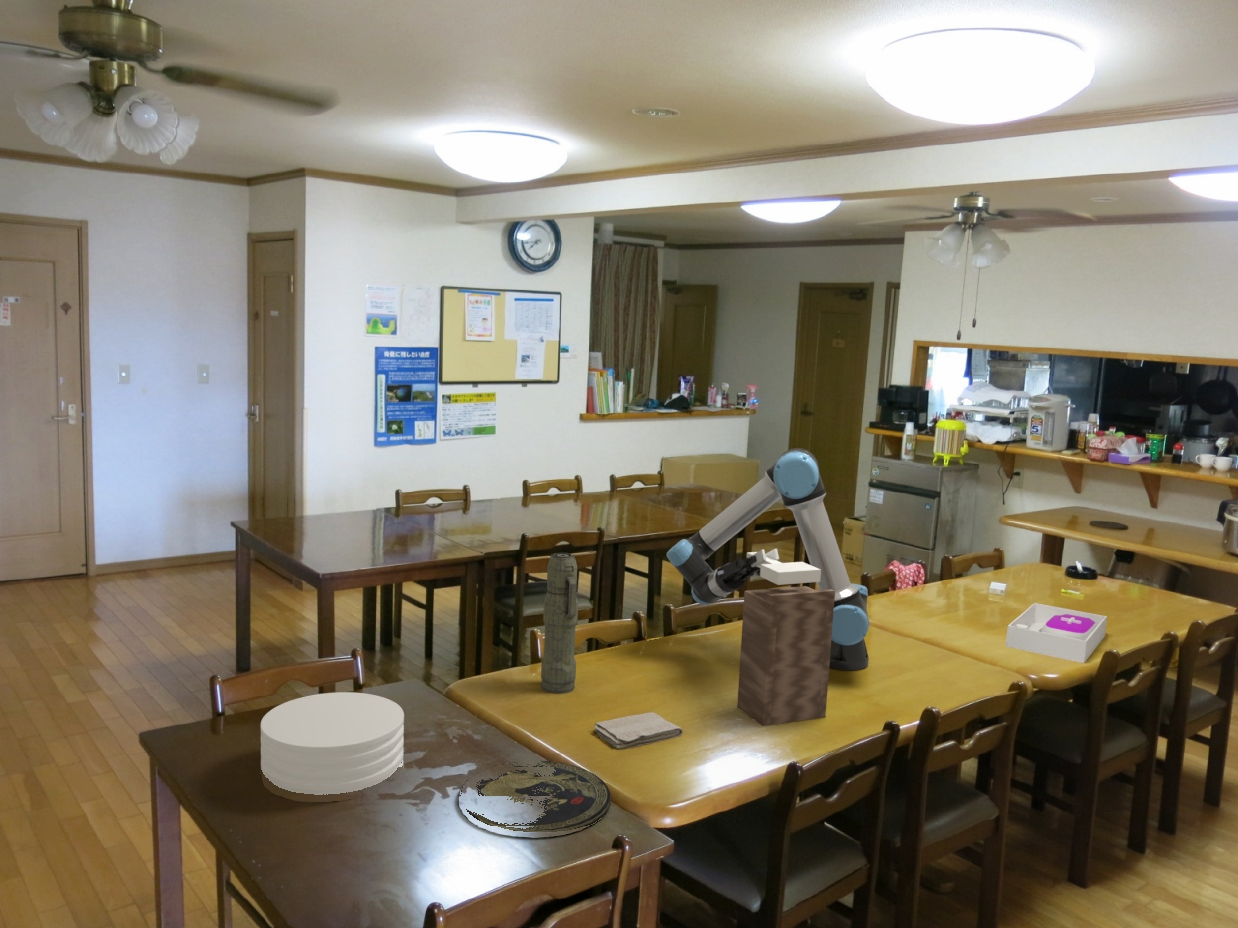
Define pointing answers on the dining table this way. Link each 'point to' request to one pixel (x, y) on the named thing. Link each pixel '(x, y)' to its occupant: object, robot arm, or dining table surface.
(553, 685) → the thermos
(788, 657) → the walnut stand
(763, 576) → the beige stepped block
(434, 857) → the dining table surface
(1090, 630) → the white open tray
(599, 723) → the washcloth
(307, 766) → the plate stack
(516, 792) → the decorative plate
